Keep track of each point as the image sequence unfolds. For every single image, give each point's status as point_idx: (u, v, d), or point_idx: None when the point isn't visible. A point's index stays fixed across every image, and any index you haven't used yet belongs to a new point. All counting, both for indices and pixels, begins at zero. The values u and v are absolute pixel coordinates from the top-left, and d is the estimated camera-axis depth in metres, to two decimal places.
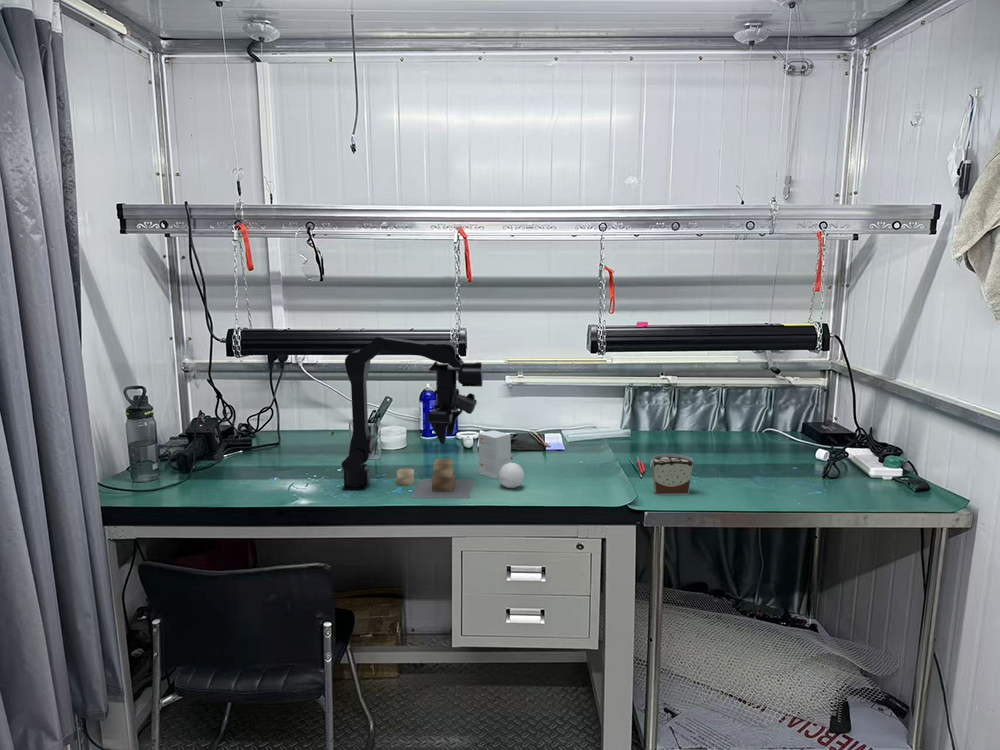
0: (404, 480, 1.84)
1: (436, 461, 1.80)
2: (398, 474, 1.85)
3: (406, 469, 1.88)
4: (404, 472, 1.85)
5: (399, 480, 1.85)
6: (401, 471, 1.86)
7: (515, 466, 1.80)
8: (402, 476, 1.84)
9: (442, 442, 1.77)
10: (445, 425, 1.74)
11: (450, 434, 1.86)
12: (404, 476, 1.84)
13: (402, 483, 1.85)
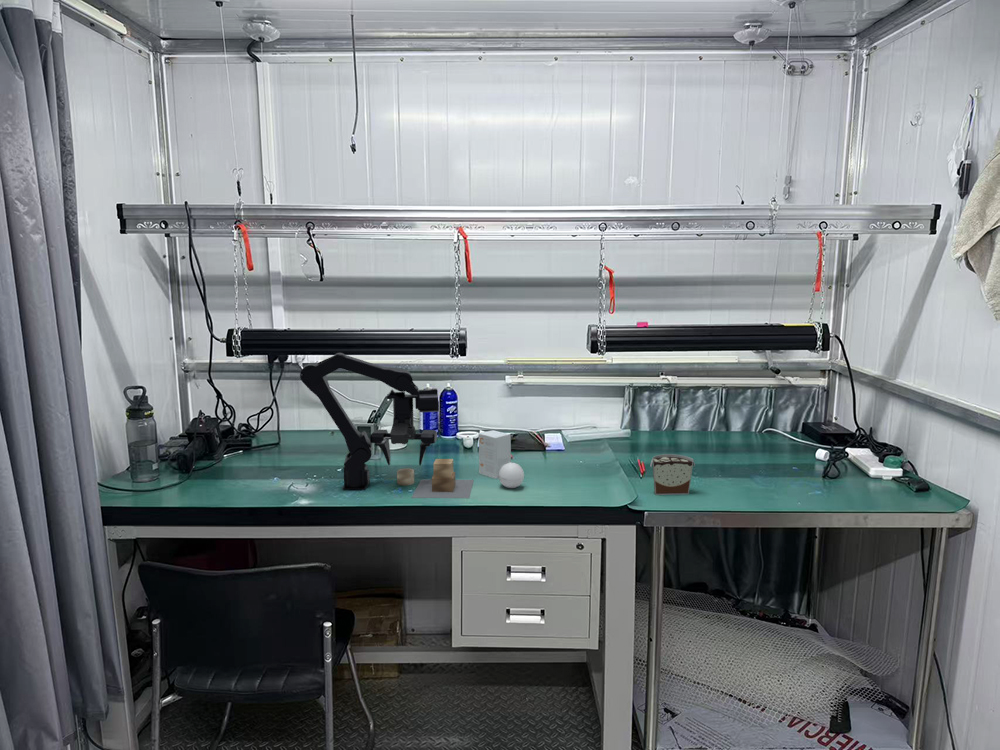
0: (404, 480, 1.84)
1: (436, 461, 1.80)
2: (398, 474, 1.85)
3: (406, 469, 1.88)
4: (404, 472, 1.85)
5: (399, 480, 1.85)
6: (401, 471, 1.86)
7: (515, 466, 1.80)
8: (402, 476, 1.84)
9: None
10: None
11: None
12: (404, 476, 1.84)
13: (402, 483, 1.85)
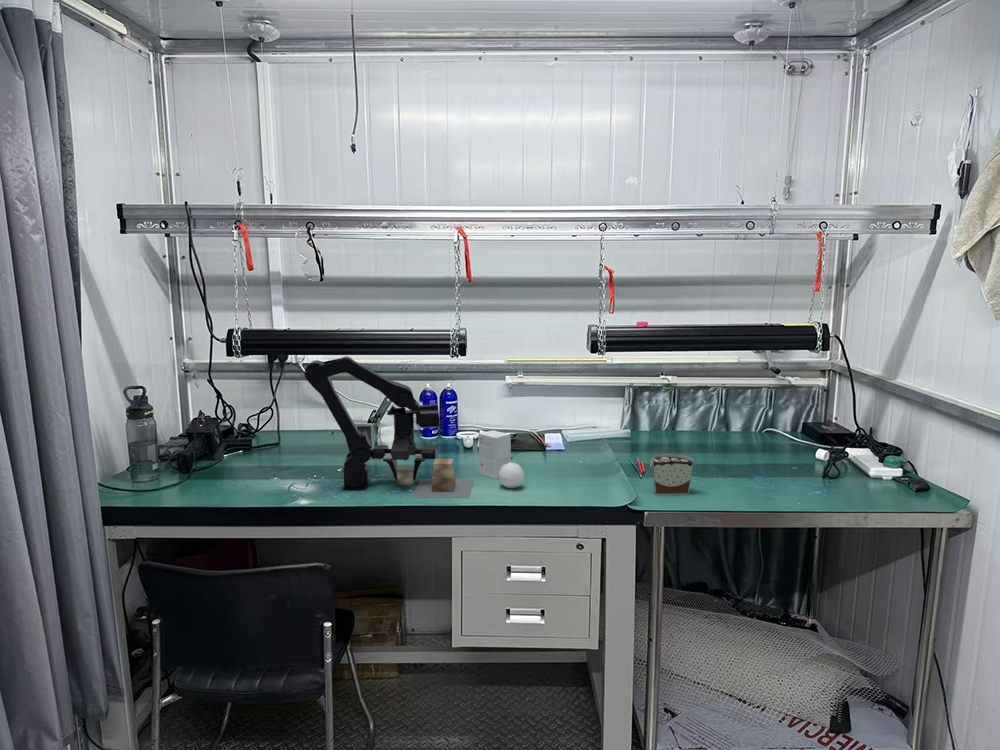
0: (404, 480, 1.84)
1: (436, 461, 1.80)
2: (398, 474, 1.85)
3: (406, 469, 1.88)
4: (404, 472, 1.85)
5: (399, 480, 1.85)
6: (401, 471, 1.86)
7: (515, 466, 1.80)
8: (402, 475, 1.84)
9: None
10: None
11: (414, 478, 1.87)
12: (404, 476, 1.84)
13: (402, 483, 1.85)
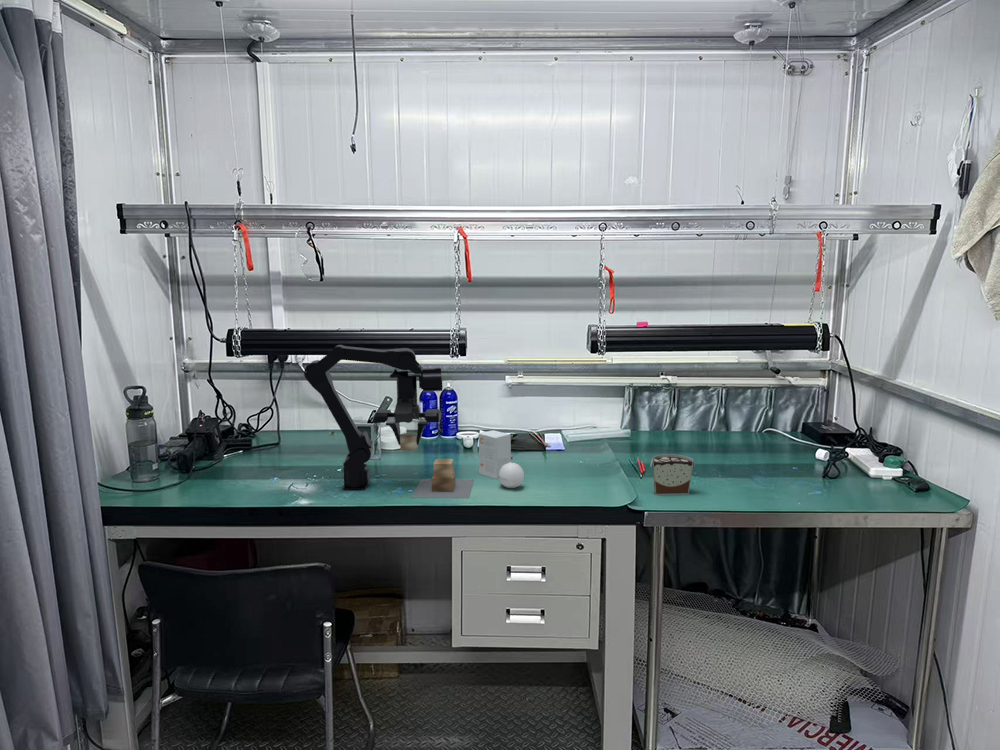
0: (407, 444, 1.82)
1: (436, 461, 1.80)
2: (401, 438, 1.83)
3: (409, 433, 1.86)
4: (407, 436, 1.83)
5: (402, 444, 1.83)
6: (404, 435, 1.84)
7: (515, 466, 1.80)
8: (406, 439, 1.82)
9: None
10: None
11: None
12: (407, 440, 1.82)
13: (405, 447, 1.82)
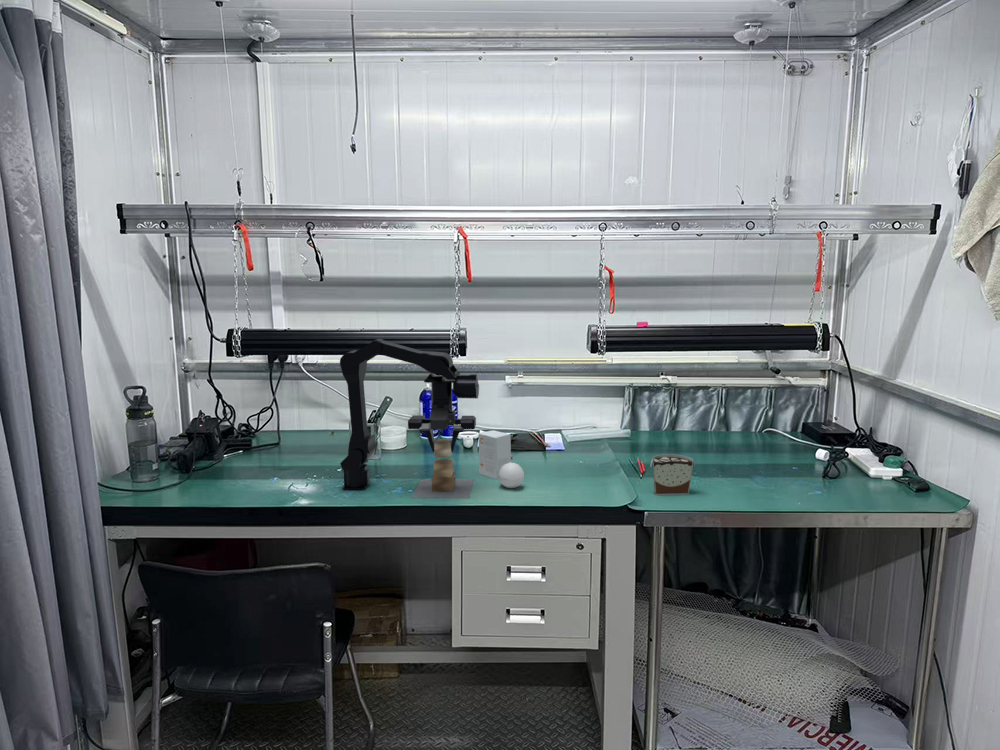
0: (442, 451, 1.77)
1: (436, 461, 1.80)
2: (435, 445, 1.78)
3: (443, 440, 1.81)
4: (442, 442, 1.78)
5: (437, 451, 1.78)
6: (438, 442, 1.79)
7: (515, 466, 1.80)
8: (440, 446, 1.77)
9: None
10: None
11: None
12: (441, 446, 1.77)
13: (439, 454, 1.78)
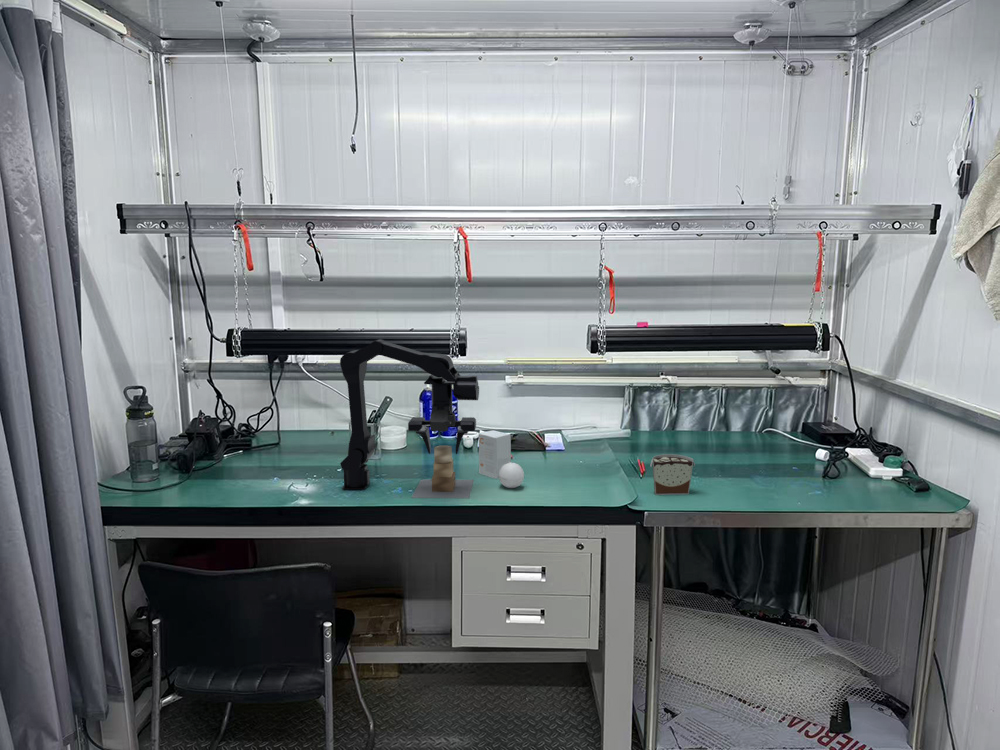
0: (442, 457, 1.78)
1: None
2: (436, 451, 1.78)
3: (443, 446, 1.81)
4: (442, 449, 1.78)
5: (437, 457, 1.78)
6: (439, 448, 1.79)
7: (515, 466, 1.80)
8: (440, 453, 1.77)
9: None
10: None
11: (456, 451, 1.80)
12: (442, 453, 1.77)
13: (440, 460, 1.78)
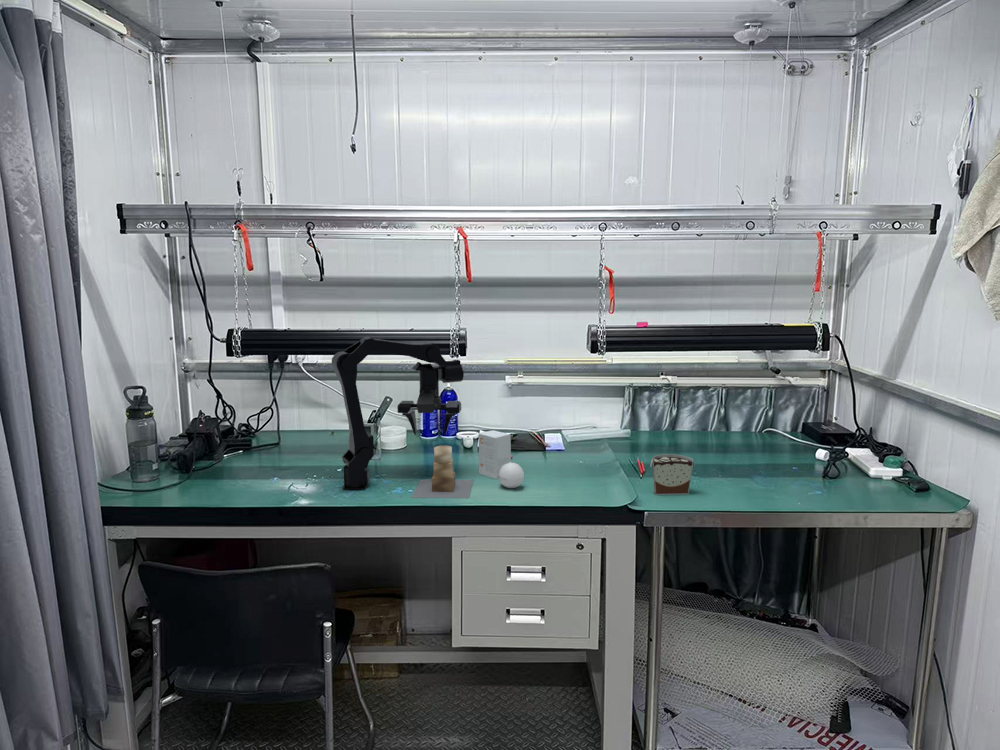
0: (442, 457, 1.78)
1: None
2: (436, 451, 1.78)
3: (443, 446, 1.81)
4: (442, 449, 1.78)
5: (437, 457, 1.78)
6: (439, 448, 1.79)
7: (515, 466, 1.80)
8: (440, 453, 1.77)
9: None
10: None
11: None
12: (442, 453, 1.77)
13: (440, 460, 1.78)
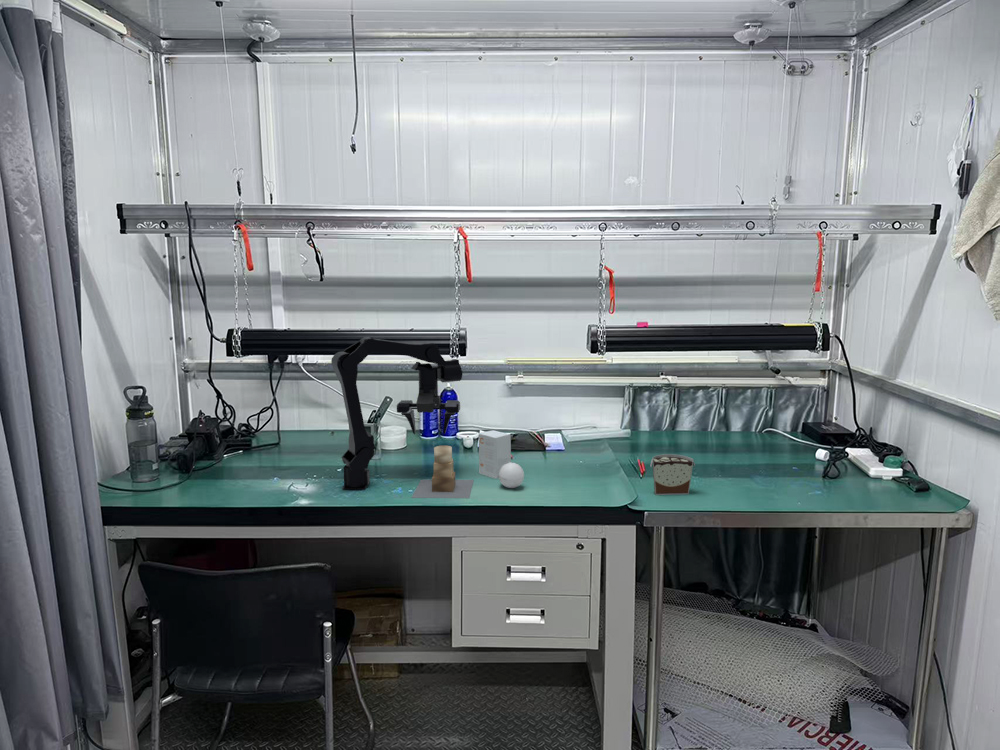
0: (442, 457, 1.78)
1: None
2: (436, 451, 1.78)
3: (443, 446, 1.81)
4: (442, 449, 1.78)
5: (437, 457, 1.78)
6: (439, 448, 1.79)
7: (515, 466, 1.80)
8: (440, 453, 1.77)
9: None
10: None
11: (444, 432, 1.94)
12: (442, 453, 1.77)
13: (440, 460, 1.78)
